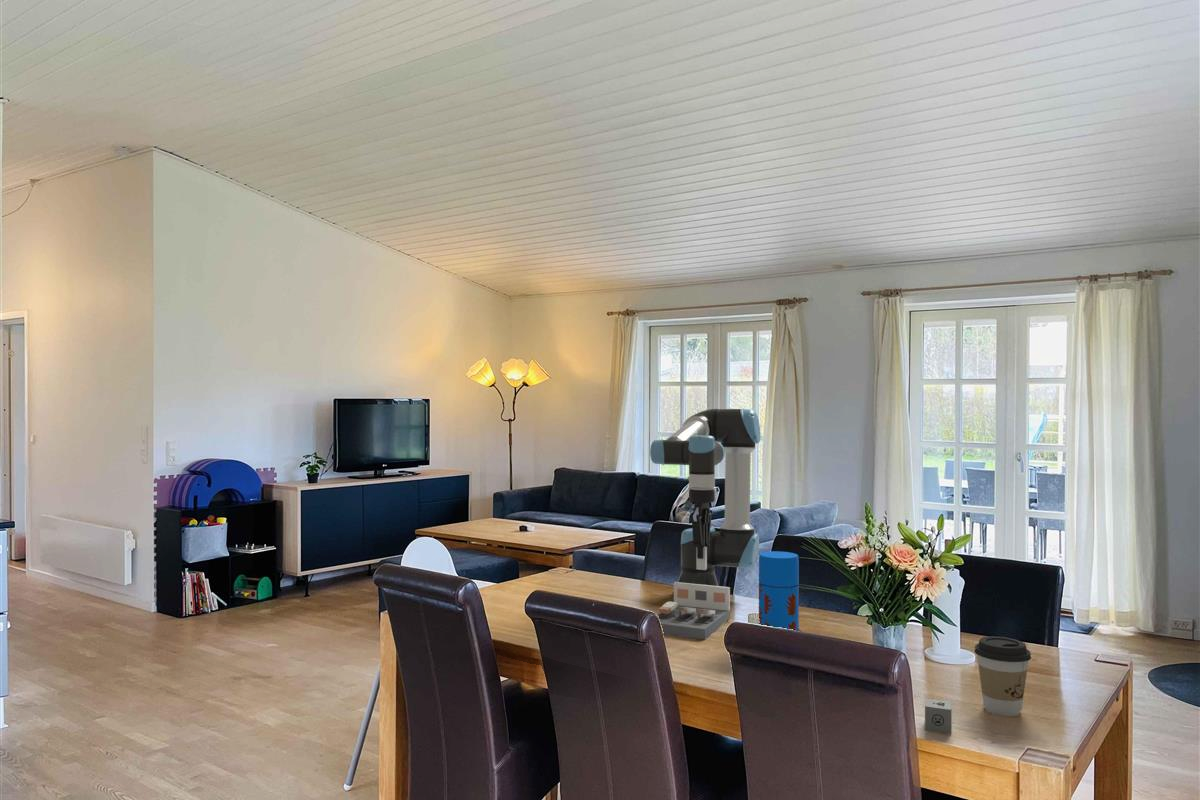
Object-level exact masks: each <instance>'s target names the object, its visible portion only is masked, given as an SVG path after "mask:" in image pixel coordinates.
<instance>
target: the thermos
mask: <svg viewBox="0 0 1200 800" xmlns="http://www.w3.org/2000/svg"><path fill="white" fill-rule="evenodd" d="M799 567H800V562H799V555H798V554H797V553H795V552H789V551H778V550H777V551H775V550H774V551H771V550H770V551H764V552H760V553H759V557H758V625H759V624H761V625H767V626H773V627H782V628H787V629H793V630H796V631H800V630H799V629H800V627H799V625H800V624H799V623H800V622H799V621H800V620H799V619H800V618H799V613H800V610H799V609H800V608H799V607H800V605H799V604H800V603H799V602H800V601H799V598H800V597H799V595H800V593H799V591H800V590H799V589H800V587H799V586H800V585H799V583H800V580H799V579H800V574H799V573H800V572H799V571H800V570H799V569H800V568H799ZM759 619H760V620H759ZM759 621H760V623H759Z"/></svg>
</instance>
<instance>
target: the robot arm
mask: <svg viewBox="0 0 1200 800" xmlns="http://www.w3.org/2000/svg"><path fill="white" fill-rule="evenodd" d="M760 442H761V425H760V421H759V416H758V415H757V413H756V411H754V409H747V408H746V409H745V408H720V409H719V408H710V409H705V410H701V411H700V412H697V413H695V414H693V415H691V416H689V417H688V418H686V419H685V421H684V422H683V424H682V426H681V427H680V428H679V429H677V430H676V431H674V433H672V434H671V436H669V437H668V438H666V439H656V440H653V441H652V443H651V445H650V447H649V449H650V450H649V454H650V460H651V462H652V463H653V464H655V465H662V466H664V465H669V466H670V465H673V466H674V465H675V466H676V465H677V466H678V465H679V466H688V476H687V480H688V487H689V490H688V501H689V502H690V503H694V506H693V508H692V509H693V510H692V513H691V514H690V521H691V527H692V528H686V529H684V530H683V531H682V532H681V537H680V543H679V544H680V574H679V577H678V580H677V582H681V583H691V584H701V585H711V586H720V585H719V583H718V580H717V576H716V574H715V566H717V567H730V568H731V567H732V568H739V569H741V568H748V569H749V568H752V567H753V566H754V565H755V563H756V560H757V557H758V554H759V547H760V536H759V534H758V533H755V527H754V526H753V525H752V524H751V518H750V517H751V465H752V464H751V455H752V454H751V453H752V452H753V451H754V450H755V449H756V445H757V444H759V443H760ZM724 458H725V459H724ZM724 460H725V463H724V464H725V465H724V466H725V468H724V470H725V471H724V522H723V523H722V524H721V525H720V527H719V531H716V529H715V527H714V526H711V525H712V516H713V510H712V509H711V508H710V504H712V503H714V502H715V495H716V494H715V491H716V490H715V489H714V488H715V487H716V478H715V477H716V475H715V472H716V471H715V470H716V468H715V467H716V466H718V465H719V464H721V462H722V461H724Z"/></svg>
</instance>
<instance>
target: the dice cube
mask: <svg viewBox="0 0 1200 800" xmlns="http://www.w3.org/2000/svg"><path fill="white" fill-rule="evenodd" d="M952 704H953V703H952V701H949V700H940V699H934V698H933V699H932V698H925V703H924V730H925V731H927V732H928V731H929V732H934V733H935V732H936V733H942V734H948V733H949V734H950V735H951V734H952V718H953V717H952V714H953V713H952V710H953V709H952Z"/></svg>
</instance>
